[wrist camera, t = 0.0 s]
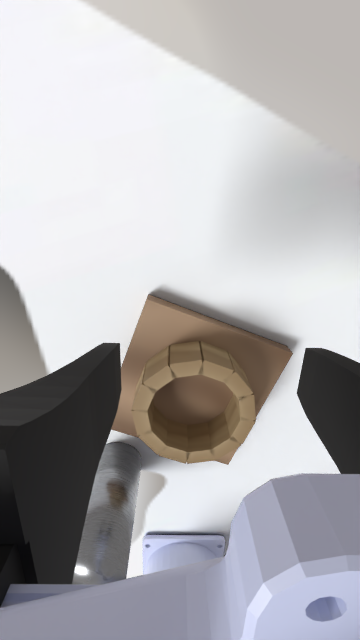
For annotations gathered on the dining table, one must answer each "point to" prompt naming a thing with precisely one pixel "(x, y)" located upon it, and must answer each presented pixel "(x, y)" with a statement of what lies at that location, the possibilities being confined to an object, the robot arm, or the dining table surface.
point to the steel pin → (109, 517)
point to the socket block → (194, 383)
